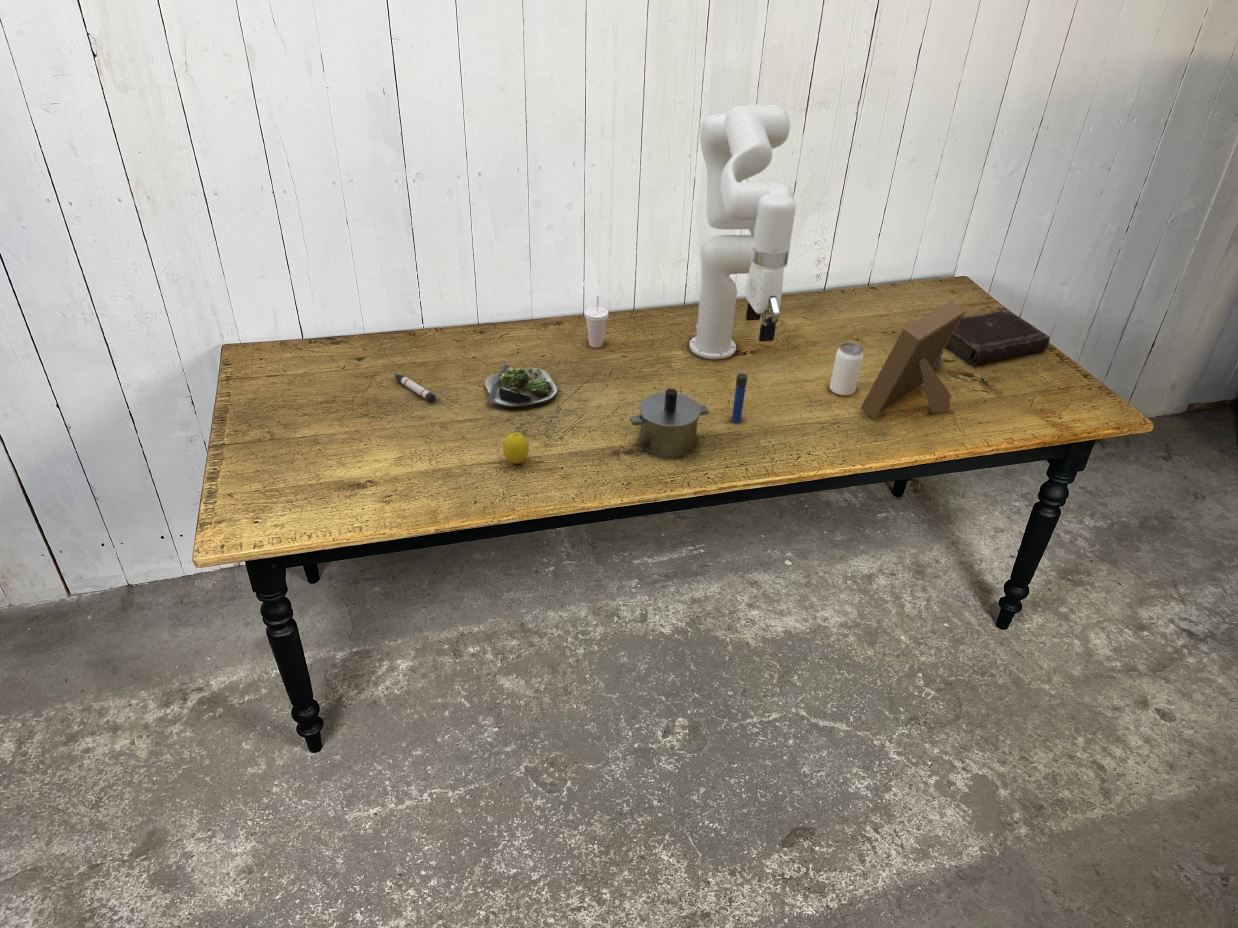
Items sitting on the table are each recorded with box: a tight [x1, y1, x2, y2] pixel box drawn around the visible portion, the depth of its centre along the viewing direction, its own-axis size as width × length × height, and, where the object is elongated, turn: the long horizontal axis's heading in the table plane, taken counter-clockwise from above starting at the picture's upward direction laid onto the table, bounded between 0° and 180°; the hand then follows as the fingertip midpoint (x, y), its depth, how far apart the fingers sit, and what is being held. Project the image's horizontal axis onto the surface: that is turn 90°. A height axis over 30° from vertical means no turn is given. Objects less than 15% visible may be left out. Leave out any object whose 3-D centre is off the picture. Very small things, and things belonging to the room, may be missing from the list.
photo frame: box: [859, 300, 967, 420], centre depth 206 cm, size 15×22×25 cm
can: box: [829, 342, 864, 397], centre depth 216 cm, size 6×6×12 cm
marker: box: [394, 373, 437, 403], centre depth 212 cm, size 15×2×2 cm, turn 47°
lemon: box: [502, 432, 530, 464], centre depth 188 cm, size 6×6×8 cm
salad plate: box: [484, 363, 558, 411], centre depth 213 cm, size 19×18×5 cm
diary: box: [945, 309, 1051, 366], centre depth 240 cm, size 19×25×5 cm
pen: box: [731, 372, 748, 424], centre depth 203 cm, size 2×2×12 cm
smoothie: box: [584, 295, 610, 349], centre depth 230 cm, size 6×6×14 cm
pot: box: [629, 404, 709, 459], centre depth 196 cm, size 13×18×8 cm
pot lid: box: [639, 388, 700, 428], centre depth 192 cm, size 14×14×6 cm
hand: (759, 330), depth 189 cm, fingers open, 9 cm apart
